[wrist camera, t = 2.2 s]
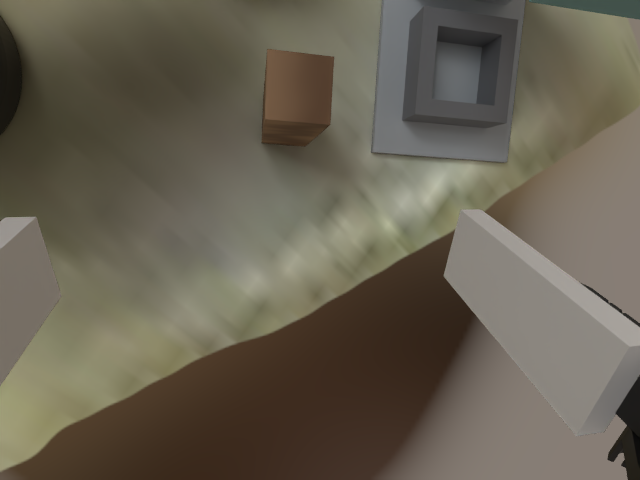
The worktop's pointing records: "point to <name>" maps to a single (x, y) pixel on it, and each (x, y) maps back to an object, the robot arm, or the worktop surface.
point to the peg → (296, 97)
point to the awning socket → (455, 74)
